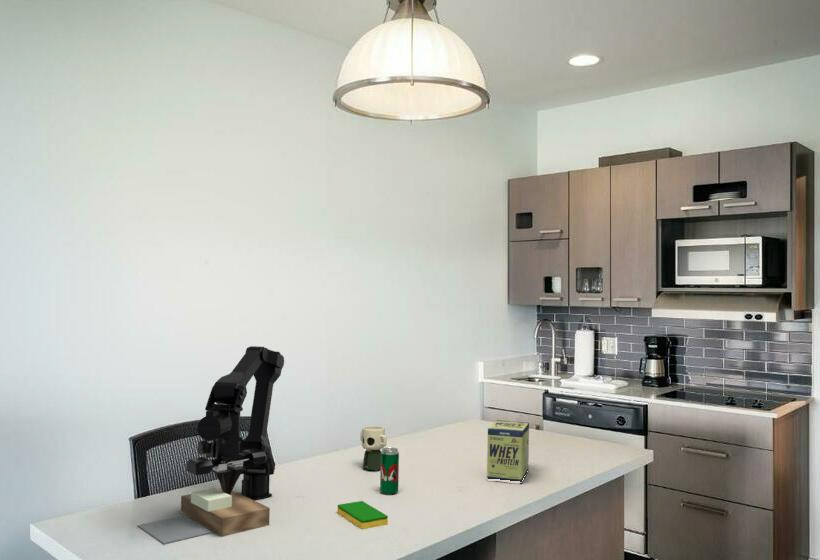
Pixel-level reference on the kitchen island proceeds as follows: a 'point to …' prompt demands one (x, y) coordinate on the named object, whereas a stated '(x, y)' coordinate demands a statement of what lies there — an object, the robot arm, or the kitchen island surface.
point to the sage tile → (211, 499)
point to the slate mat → (174, 529)
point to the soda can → (389, 470)
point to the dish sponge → (362, 514)
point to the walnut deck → (229, 515)
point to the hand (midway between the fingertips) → (226, 496)
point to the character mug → (373, 445)
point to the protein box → (508, 450)
